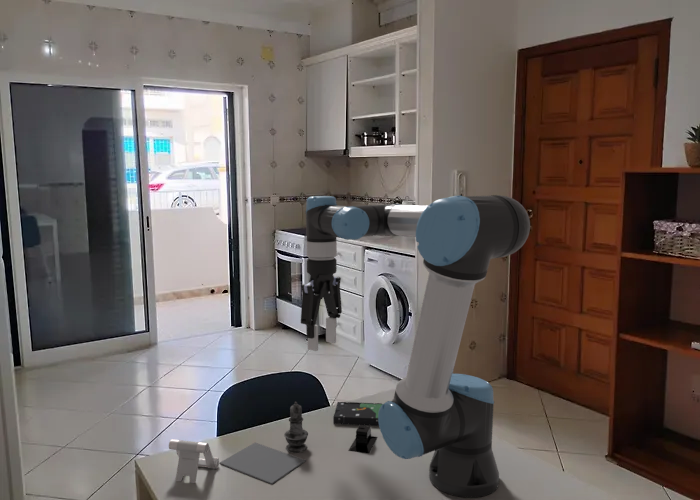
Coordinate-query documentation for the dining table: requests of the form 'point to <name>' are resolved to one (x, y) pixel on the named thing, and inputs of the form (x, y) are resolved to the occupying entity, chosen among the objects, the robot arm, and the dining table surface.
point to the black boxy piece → (363, 440)
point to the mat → (263, 462)
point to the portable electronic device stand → (192, 458)
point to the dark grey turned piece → (296, 431)
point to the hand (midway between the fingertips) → (322, 345)
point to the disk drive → (357, 413)
